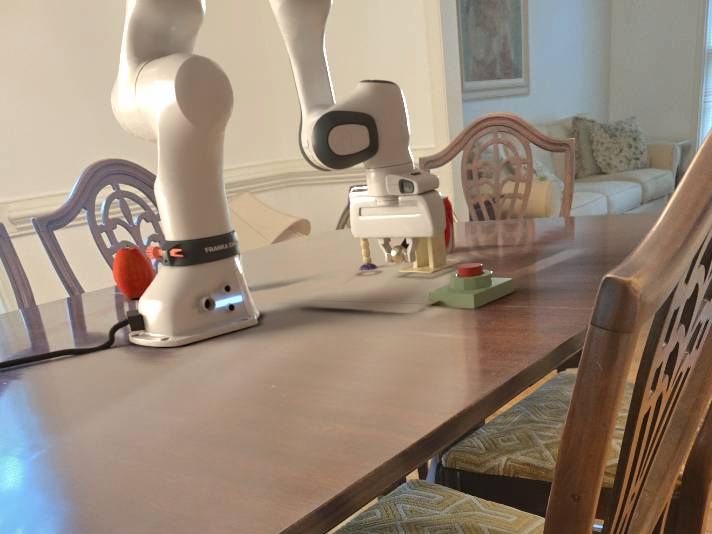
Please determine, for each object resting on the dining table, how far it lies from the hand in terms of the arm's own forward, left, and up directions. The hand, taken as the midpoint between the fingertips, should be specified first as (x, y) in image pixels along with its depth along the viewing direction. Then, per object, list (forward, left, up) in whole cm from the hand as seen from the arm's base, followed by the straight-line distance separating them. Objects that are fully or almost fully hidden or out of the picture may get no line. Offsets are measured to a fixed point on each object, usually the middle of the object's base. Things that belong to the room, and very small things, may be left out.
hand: (401, 262), depth 145 cm
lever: (+5, 0, +3) cm, 6 cm away
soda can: (+23, +8, -4) cm, 25 cm away
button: (-9, -22, 0) cm, 24 cm away
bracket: (+9, 0, -4) cm, 10 cm away
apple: (-24, +52, -4) cm, 58 cm away
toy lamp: (+6, +14, -4) cm, 16 cm away
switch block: (-9, -22, -4) cm, 24 cm away
